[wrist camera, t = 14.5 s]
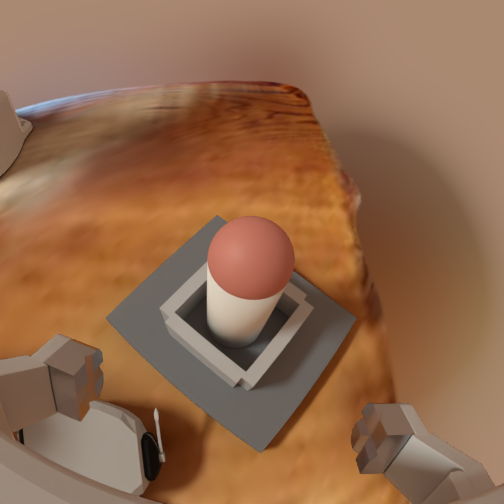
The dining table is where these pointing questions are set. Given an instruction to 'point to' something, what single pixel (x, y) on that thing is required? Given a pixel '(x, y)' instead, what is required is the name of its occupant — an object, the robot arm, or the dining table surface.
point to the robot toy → (100, 446)
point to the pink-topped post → (245, 278)
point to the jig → (231, 359)
